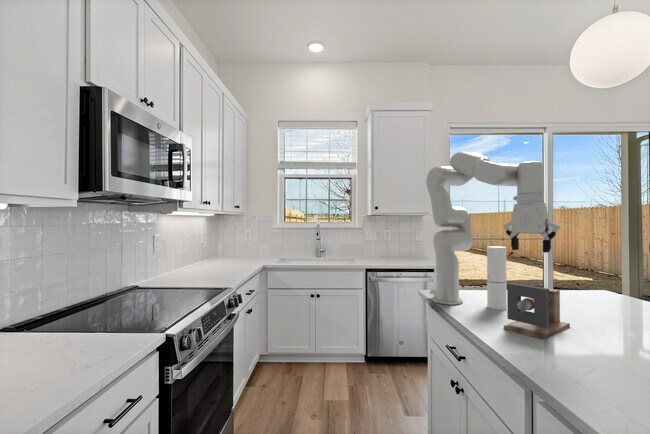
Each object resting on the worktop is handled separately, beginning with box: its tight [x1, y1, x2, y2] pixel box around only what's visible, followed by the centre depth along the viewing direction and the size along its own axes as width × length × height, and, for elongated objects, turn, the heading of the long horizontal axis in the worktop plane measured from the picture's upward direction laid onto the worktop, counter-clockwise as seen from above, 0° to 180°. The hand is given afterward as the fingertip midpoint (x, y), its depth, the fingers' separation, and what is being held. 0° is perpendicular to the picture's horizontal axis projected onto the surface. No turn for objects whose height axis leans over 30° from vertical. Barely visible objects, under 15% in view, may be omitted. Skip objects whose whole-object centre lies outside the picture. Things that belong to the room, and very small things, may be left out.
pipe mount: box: [503, 286, 571, 340], centre depth 117 cm, size 12×20×12 cm, turn 125°
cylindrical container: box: [486, 245, 507, 311], centre depth 143 cm, size 7×7×25 cm
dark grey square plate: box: [506, 282, 550, 328], centre depth 113 cm, size 12×2×12 cm, turn 35°
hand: (530, 250), depth 115 cm, fingers open, 9 cm apart
